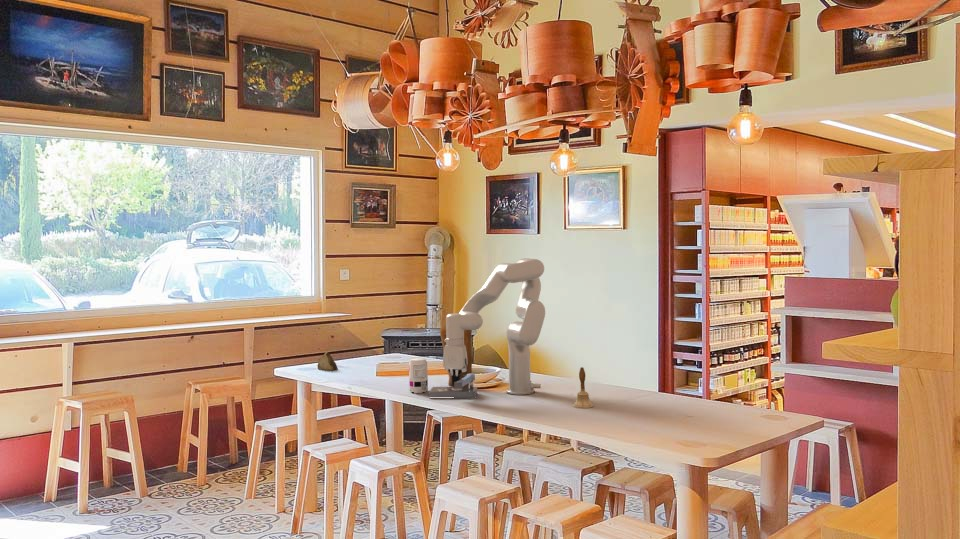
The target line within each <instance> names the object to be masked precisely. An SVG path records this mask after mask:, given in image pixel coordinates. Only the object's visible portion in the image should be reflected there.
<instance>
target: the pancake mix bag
mask: <svg viewBox="0 0 960 539" xmlns="http://www.w3.org/2000/svg"><path fill="white" fill-rule="evenodd" d="M472 333H473V330H464V345H465V347H466V352H467V371H466V372H462V373H461V375H460V379H462V378H464V377H465V376H467V374H473V372H472V371H473V368H472V367H473V343H472V342H473V340H472V336H473V335H472ZM439 335H440V339H441V344H442V348H443V349H442V350H443V351H444V347H445V345H447V344H446V342H444V340H445V339H446V326H441V328H440V329H439ZM447 374H448V387H454V385H453V383H452V376H451V374H450V372H449V371H447ZM463 387H469V383H468V384H466V385H465V386H463Z"/></svg>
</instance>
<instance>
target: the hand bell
mask: <svg viewBox="0 0 960 539" xmlns="http://www.w3.org/2000/svg"><path fill="white" fill-rule="evenodd" d="M578 378H579V381H580V382H579V383H580V391H579V392H577V396H576V401H575V402H574V403H573V404H572V407H573V408H576V409H590V408H593V407H594V403H592V401H591V400H590V395H589V392H587V391H586V389H585V381H586V371H585V368H584V367H582V366H581V367H580V369H579V372H578Z"/></svg>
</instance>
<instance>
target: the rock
mask: <svg viewBox="0 0 960 539" xmlns="http://www.w3.org/2000/svg"><path fill="white" fill-rule="evenodd" d="M316 365H317V369H318V370H324V371H334V370H335V371H336V370H339V368H338V365H337V363H336V361H335V360H334V358H333V356H332V355H331V354H330V353H329V352H328V351H325V353H324V354H323V355H322V356H321V357H320V358H319V360H318V363H317V364H316Z"/></svg>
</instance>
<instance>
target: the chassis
mask: <svg viewBox="0 0 960 539" xmlns="http://www.w3.org/2000/svg"><path fill="white" fill-rule="evenodd" d="M428 391H429V392H428V393H429V394H428V397H454V398H475V397H477V396H478V386H474V381H471V382H469V387H462V389H456V388H454V387H453V386H432V387H431V389H430V390H428ZM475 399H476V398H475Z"/></svg>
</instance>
